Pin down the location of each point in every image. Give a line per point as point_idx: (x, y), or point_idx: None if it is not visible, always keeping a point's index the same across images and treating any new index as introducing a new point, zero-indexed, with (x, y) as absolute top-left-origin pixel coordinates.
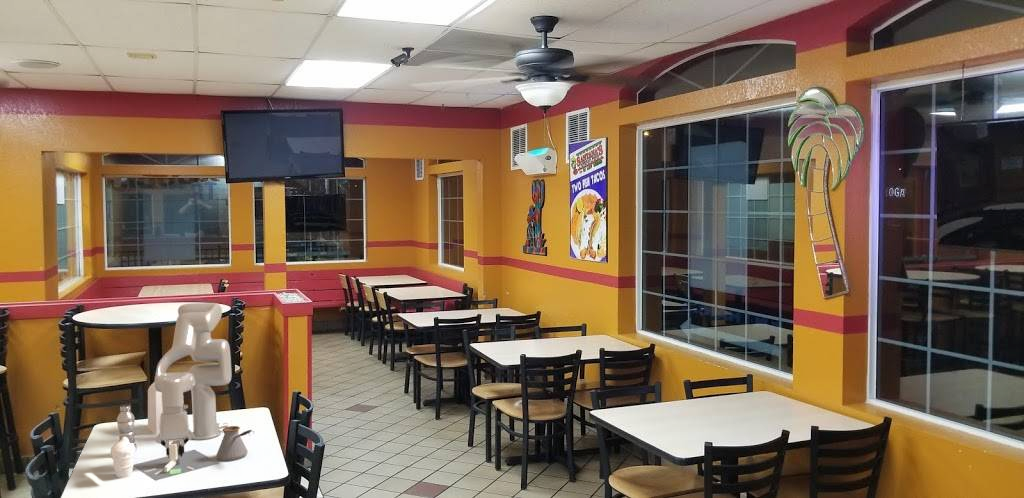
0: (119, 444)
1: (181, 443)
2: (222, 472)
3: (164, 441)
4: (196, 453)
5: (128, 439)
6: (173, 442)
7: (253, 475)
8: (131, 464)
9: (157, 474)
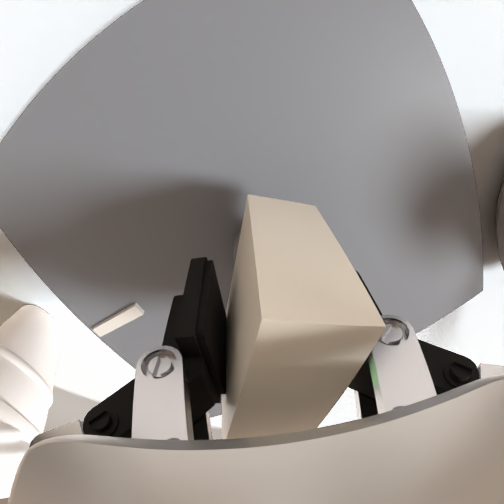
0: None
1: (364, 409)
2: (455, 336)
3: (130, 436)
4: (395, 17)
5: None
6: (261, 408)
7: (494, 360)
8: (48, 402)
9: None
